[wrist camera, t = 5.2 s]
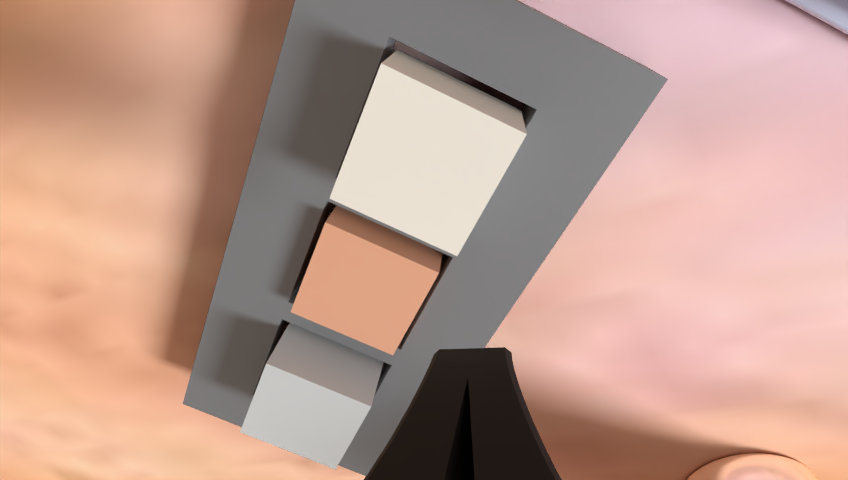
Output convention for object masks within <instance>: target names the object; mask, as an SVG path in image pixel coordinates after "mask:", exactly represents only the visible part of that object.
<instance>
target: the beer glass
mask: <svg viewBox="0 0 848 480" xmlns="http://www.w3.org/2000/svg"><path fill="white" fill-rule="evenodd" d="M687 480H819V479H818V478H817V476H816V475H815V474H814V473H813V472H812V471H811V470H810V469H809V468H807V467H806V466H805V465H803V464H801V463H800V462H797V461H795V460H793V459H790V458H787V457H783V456H779V455H774V454H765V453H748V454H739V455H733V456H729V457H725V458H721V459H718V460H715V461H713V462H711V463H708V464H706V465H705V466H703V467H701V468H699V469H698V470H696V471H695V472H694V473H693V474H691V475H690V476H689V477H688V478H687Z"/></svg>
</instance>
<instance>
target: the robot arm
mask: <svg viewBox="0 0 848 480" xmlns="http://www.w3.org/2000/svg"><path fill="white" fill-rule="evenodd" d="M785 1H787V2H789V3H791V4H793V5H794V6H796V7H798V8H800V9H802V10H804V11H805V12H807V13H809V14H811V15H813V16H814V17H816V18H818V19H820V20H822V21H823V22H825V23H827V24H829V25H831V26H833V27H834V28H836V29H838V30H840V31H842V32H843V33H845V34H847V35H848V0H785ZM364 480H561V478H560V476H559V474H558V473H557V471H556V469H555V467H554V465H553V463H552V461H551V459H550V457H549V455H548V453H547V451H546V449H545V446H544V444H543V442H542V440H541V438H540V436H539V433H538V431H537V429H536V427H535V425H534V422H533V420H532V418H531V416H530V413H529V411H528V408H527V406H526V403H525V401H524V398H523V395H522V393H521V390H520V387H519V384H518V381H517V378H516V374H515V371H514V366H513V362H512V355H511V352H510V351H509V350H507V349H506V348H468V349H439V350H438V351H437V352H436V353H435V354H434V355H433V358H432V360H431V363H430V365H429V367H428V369H427V371H426V374H425V376H424V378H423V380H422V382H421V384H420V386H419V388H418V390H417V392H416V394H415V396H414V398H413V399H412V401H411V403H410V405H409V407H408V409H407V411H406V412H405V414H404V416H403V417H402V419H401V421H400V423H399V424H398V426H397V428H396V430H395V431H394V433H393V435H392V437H391V438H390V440H389V442H388V443H387V445H386V446H385V448H384V450H383V451H382V453H381V454H380V456H379V457H378V459H377V460H376V462H375V463H374V465H373V466H372V468H371V470H370V471H369V473H368V474H367V476H366V477H365V479H364Z"/></svg>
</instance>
